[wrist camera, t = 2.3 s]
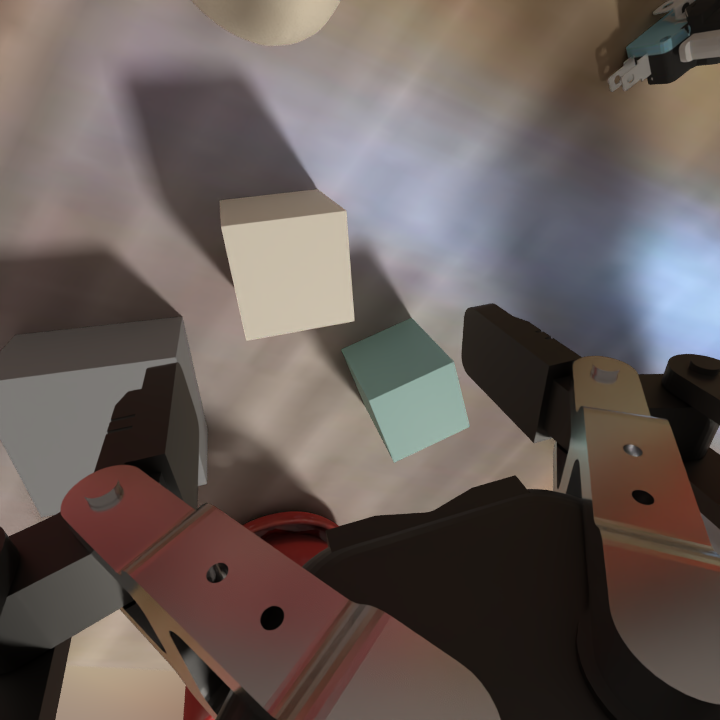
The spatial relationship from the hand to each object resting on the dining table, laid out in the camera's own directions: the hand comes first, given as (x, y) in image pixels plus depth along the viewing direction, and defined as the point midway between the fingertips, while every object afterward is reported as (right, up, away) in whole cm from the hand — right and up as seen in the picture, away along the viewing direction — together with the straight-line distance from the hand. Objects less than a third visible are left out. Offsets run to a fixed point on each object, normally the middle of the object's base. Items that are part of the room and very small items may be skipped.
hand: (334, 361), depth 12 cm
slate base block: (-13, -2, +13) cm, 18 cm away
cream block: (-4, +6, +11) cm, 14 cm away
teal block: (+3, 0, +17) cm, 17 cm away
